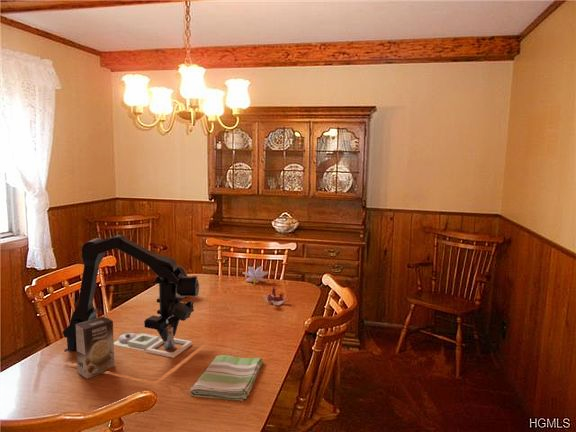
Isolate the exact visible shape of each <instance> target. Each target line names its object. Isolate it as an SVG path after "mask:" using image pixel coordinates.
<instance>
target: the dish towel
mask: <svg viewBox="0 0 576 432" xmlns="http://www.w3.org/2000/svg"><path fill="white" fill-rule="evenodd" d="M263 364H264V361H263V360H262V357H238V356H233V355H228V354H223V355H222V354H220V355H216V356H215V358H214V359H213V360H212V362H211V363H210V364H209V365H208V367H207V368H206V369H205V371H204V372H203V373H202V374H201V375H200V376H199V378H198V379H197V380H196V382H195V383H194V385H192V386H191V388H190V389H189V395H191V396H192V397H199V398H209V399H210V398H211V399H219V400H229V401H241V402H244V401H245V400H247V398H248V396H249V394H250V393H251V390H252V388H253V385H254V384H255V381H256V378H257V377H258V375H259V373H260V371H261V369H262V366H263Z"/></svg>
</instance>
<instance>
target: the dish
mask: <svg viewBox="0 0 576 432" xmlns="http://www.w3.org/2000/svg"><path fill="white" fill-rule="evenodd" d="M160 339H161V340H160V341H158V342H156V343H155V344H153V345H152V346H150V347H148V348H147V349H146V350H145V353H149V354H152V355H157V356H163V357H166V358H167V357H168V358H173V359H174V358H175V357H176V356H178V355H179V354H180V353H183V352H184V351H185V350H187V349H188V348H189V347H190V346H191V345H193V342H192V340H187V339H182V338H176V337H174V344H175V343H176V344H181V345H182V346H180V347H179V348H177V349H176V350H175V351H173V352H171V351H167V350H161V349H157V348H158V347H160V346H161V345H162V344H163V345H164V342H163V340H162V338H160Z"/></svg>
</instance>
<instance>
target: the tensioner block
mask: <svg viewBox="0 0 576 432" xmlns="http://www.w3.org/2000/svg"><path fill="white" fill-rule="evenodd" d="M161 339H162V338H160V335H153V334H148V333H143V332H141V333H140V334H137V333H133V332H128V333H123V334H121V335H119V336H118V340H116V341H114V346H119V347H123V348H129V349H134V350H137V351H144V352H145V351H146V349H147V348H148V347H150V346H152V345H153V344H155V343H156V342H158V341H160V340H161Z"/></svg>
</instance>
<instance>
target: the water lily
mask: <svg viewBox="0 0 576 432" xmlns="http://www.w3.org/2000/svg"><path fill="white" fill-rule="evenodd" d="M247 269H248V270H247V272H243V271H242V274H243V275H245V276H247V277H248V278H246V279H245V282H251V281H253V286H256V280H257V281H259V282H262V283H263V282H266V280H265V279H264V278H263V277H264V276H266V275H267V274H269V271H264V270H262V269H263V266H262V265H260V266H259V267H258V266H257V268H256V269H255V267H254V266H248V267H247Z"/></svg>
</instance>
